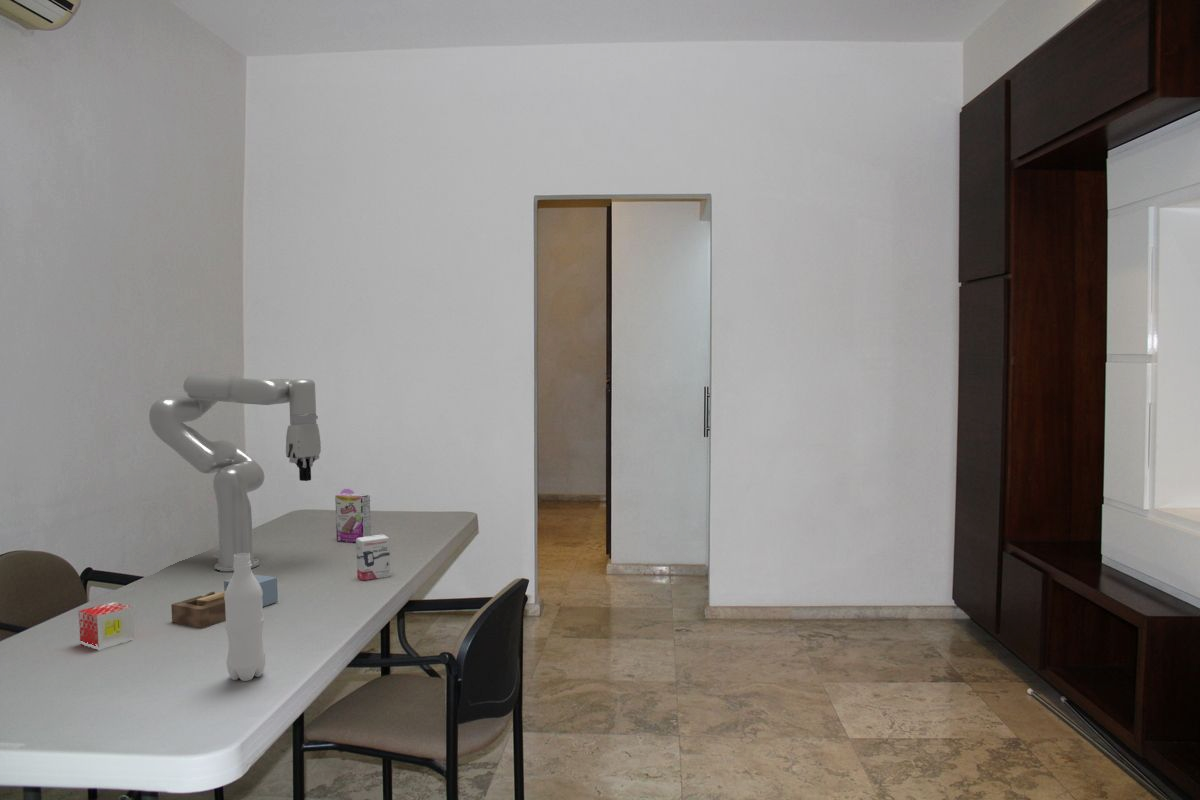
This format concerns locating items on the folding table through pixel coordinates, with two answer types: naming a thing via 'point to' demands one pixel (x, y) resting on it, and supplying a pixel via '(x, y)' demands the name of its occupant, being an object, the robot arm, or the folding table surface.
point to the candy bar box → (352, 516)
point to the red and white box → (106, 624)
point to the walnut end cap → (198, 612)
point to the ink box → (373, 557)
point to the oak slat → (210, 599)
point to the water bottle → (244, 621)
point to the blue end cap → (264, 588)
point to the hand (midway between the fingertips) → (305, 480)
